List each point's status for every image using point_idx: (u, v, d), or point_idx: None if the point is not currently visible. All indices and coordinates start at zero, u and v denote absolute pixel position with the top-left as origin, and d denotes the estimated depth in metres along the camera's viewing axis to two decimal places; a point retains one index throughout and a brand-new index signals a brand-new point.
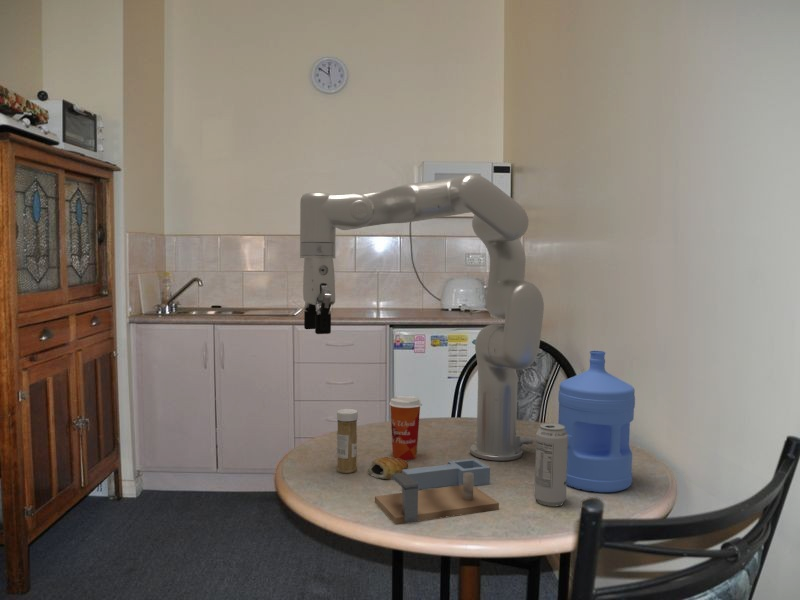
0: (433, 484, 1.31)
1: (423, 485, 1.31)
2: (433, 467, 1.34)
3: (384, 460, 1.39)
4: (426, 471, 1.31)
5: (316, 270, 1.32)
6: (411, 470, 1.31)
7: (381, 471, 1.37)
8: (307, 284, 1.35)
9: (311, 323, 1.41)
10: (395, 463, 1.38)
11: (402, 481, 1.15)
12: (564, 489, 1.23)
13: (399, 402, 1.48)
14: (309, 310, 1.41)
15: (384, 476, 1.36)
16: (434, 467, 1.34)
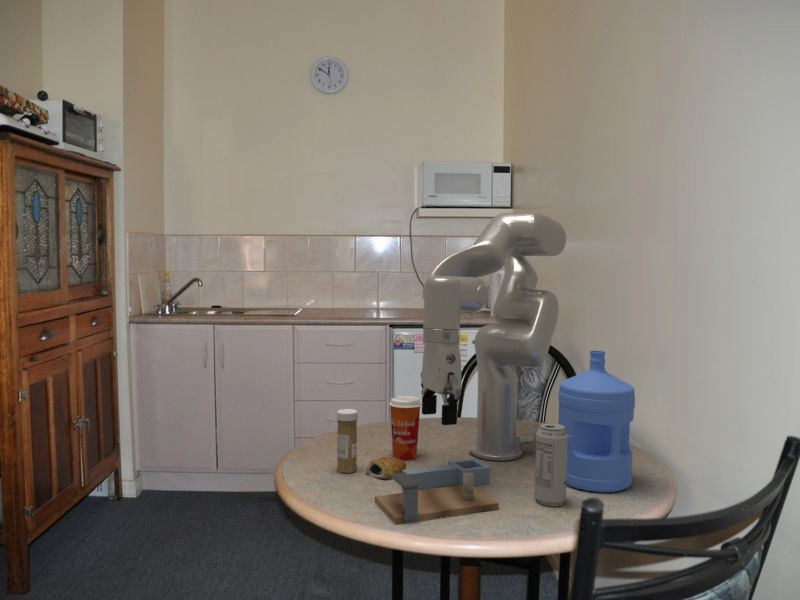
0: (433, 484, 1.31)
1: (423, 485, 1.31)
2: (433, 467, 1.34)
3: (383, 459, 1.39)
4: (426, 471, 1.31)
5: (444, 359, 1.27)
6: (411, 470, 1.31)
7: (379, 471, 1.37)
8: (431, 372, 1.30)
9: (429, 408, 1.36)
10: (393, 463, 1.38)
11: (402, 481, 1.15)
12: (564, 489, 1.23)
13: (399, 402, 1.48)
14: (427, 395, 1.36)
15: (382, 476, 1.36)
16: (434, 467, 1.34)
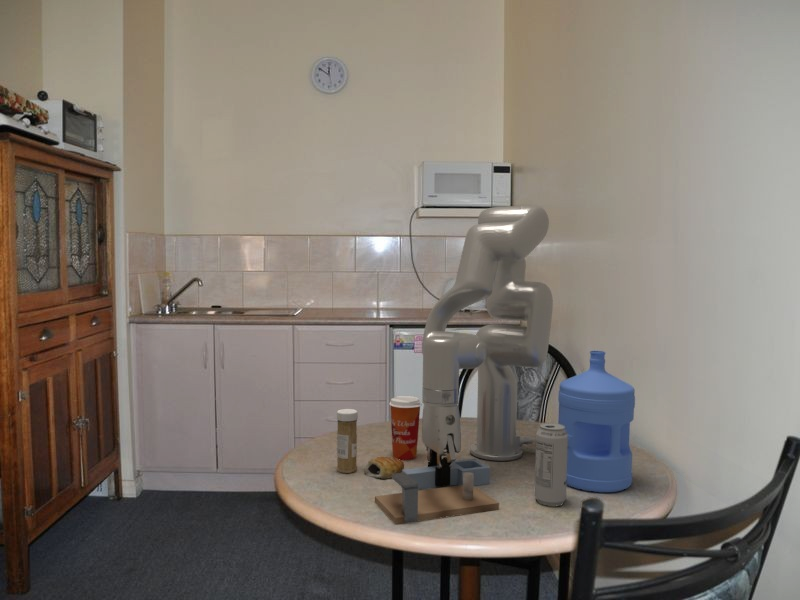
0: (433, 484, 1.31)
1: (423, 485, 1.31)
2: (433, 467, 1.34)
3: (381, 459, 1.39)
4: (426, 471, 1.31)
5: (443, 420, 1.28)
6: (411, 470, 1.31)
7: (378, 471, 1.37)
8: (431, 431, 1.31)
9: None
10: (391, 462, 1.39)
11: (402, 481, 1.15)
12: (564, 489, 1.23)
13: (399, 402, 1.48)
14: (433, 461, 1.35)
15: (381, 475, 1.36)
16: (434, 467, 1.34)
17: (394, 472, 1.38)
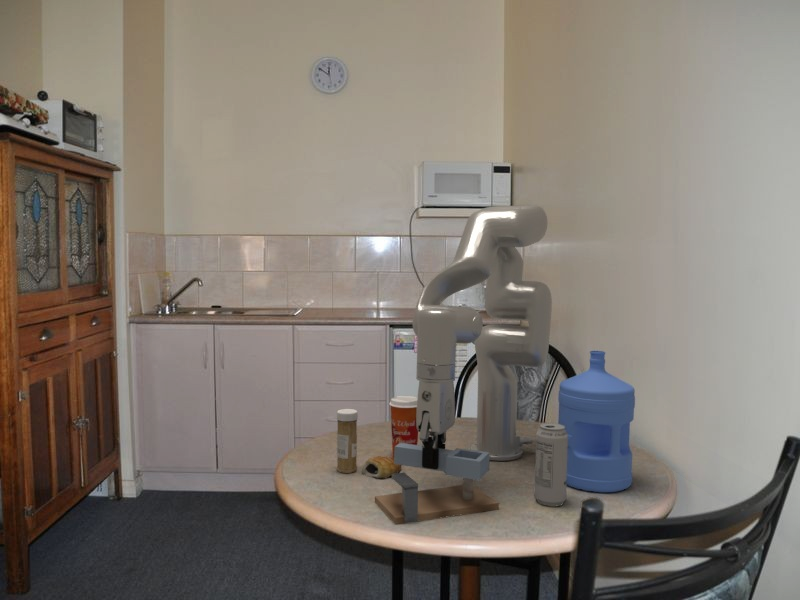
0: (421, 464, 1.24)
1: (410, 462, 1.25)
2: None
3: (378, 459, 1.39)
4: (415, 449, 1.25)
5: (419, 395, 1.20)
6: (405, 445, 1.27)
7: (375, 470, 1.38)
8: None
9: None
10: (389, 462, 1.39)
11: (402, 481, 1.15)
12: (564, 489, 1.23)
13: (399, 402, 1.48)
14: None
15: (379, 475, 1.36)
16: None
17: (392, 472, 1.38)
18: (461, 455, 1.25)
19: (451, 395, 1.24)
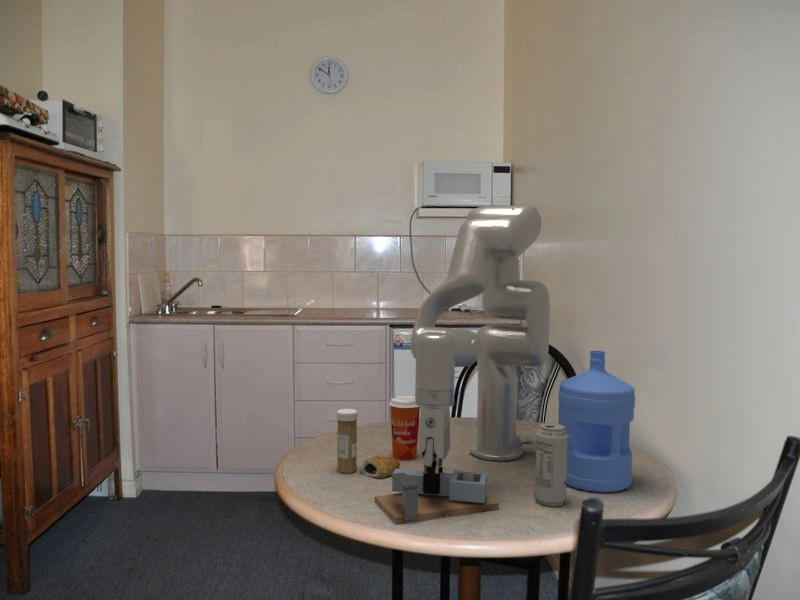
0: (421, 490, 1.23)
1: None
2: None
3: (377, 459, 1.39)
4: (414, 474, 1.24)
5: (423, 422, 1.19)
6: (402, 471, 1.26)
7: (374, 470, 1.38)
8: None
9: None
10: (388, 462, 1.39)
11: (402, 481, 1.15)
12: (564, 489, 1.23)
13: (399, 402, 1.48)
14: None
15: (378, 475, 1.36)
16: None
17: (390, 471, 1.38)
18: (459, 477, 1.25)
19: (449, 418, 1.24)
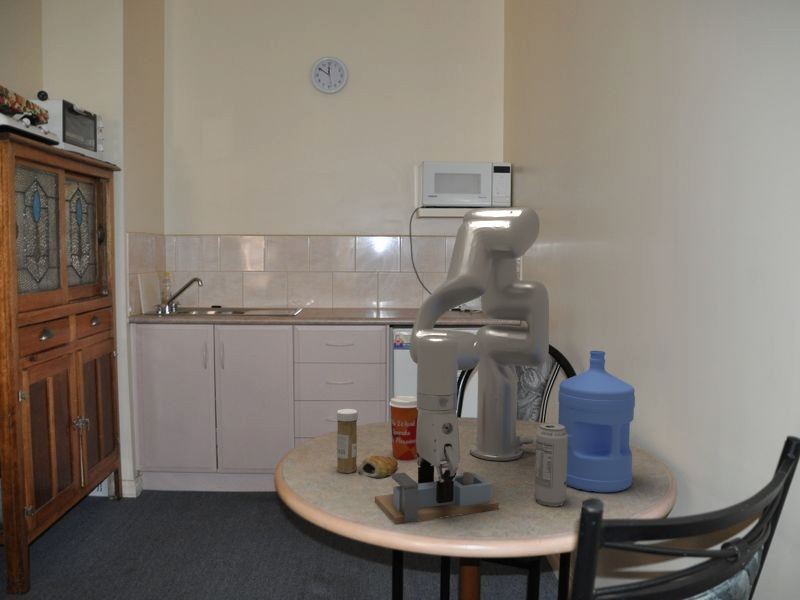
0: (428, 503, 1.18)
1: None
2: (428, 484, 1.20)
3: (375, 458, 1.40)
4: (420, 488, 1.17)
5: (440, 429, 1.14)
6: None
7: (372, 470, 1.38)
8: (426, 441, 1.17)
9: (426, 481, 1.23)
10: (386, 461, 1.39)
11: (402, 481, 1.15)
12: (564, 489, 1.23)
13: (399, 402, 1.48)
14: (424, 466, 1.23)
15: (376, 475, 1.36)
16: (429, 483, 1.20)
17: (389, 471, 1.38)
18: None
19: None
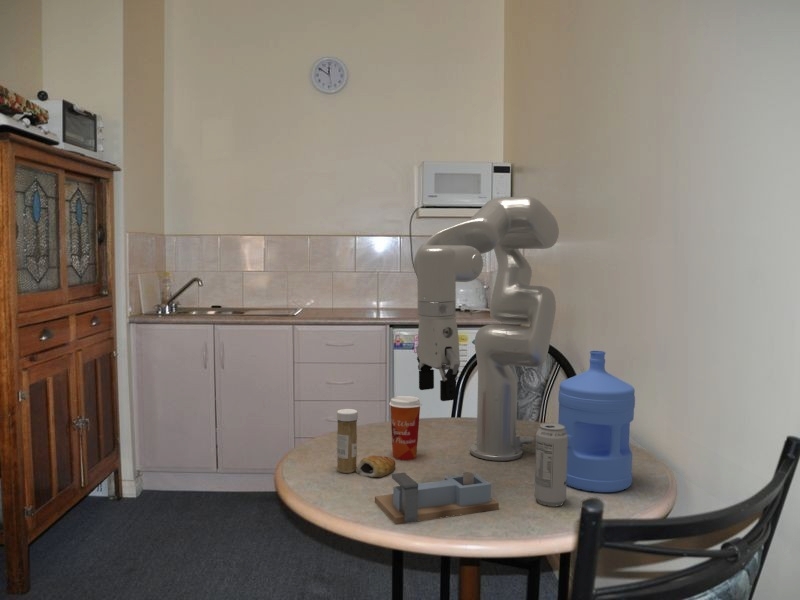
0: (428, 503, 1.18)
1: None
2: (428, 484, 1.20)
3: (373, 458, 1.40)
4: (420, 488, 1.17)
5: (440, 333, 1.22)
6: None
7: (371, 470, 1.38)
8: (428, 346, 1.25)
9: (426, 383, 1.32)
10: (384, 461, 1.39)
11: (402, 481, 1.15)
12: (564, 489, 1.23)
13: (399, 402, 1.48)
14: (424, 370, 1.31)
15: (374, 474, 1.36)
16: (429, 483, 1.20)
17: (387, 471, 1.38)
18: None
19: None
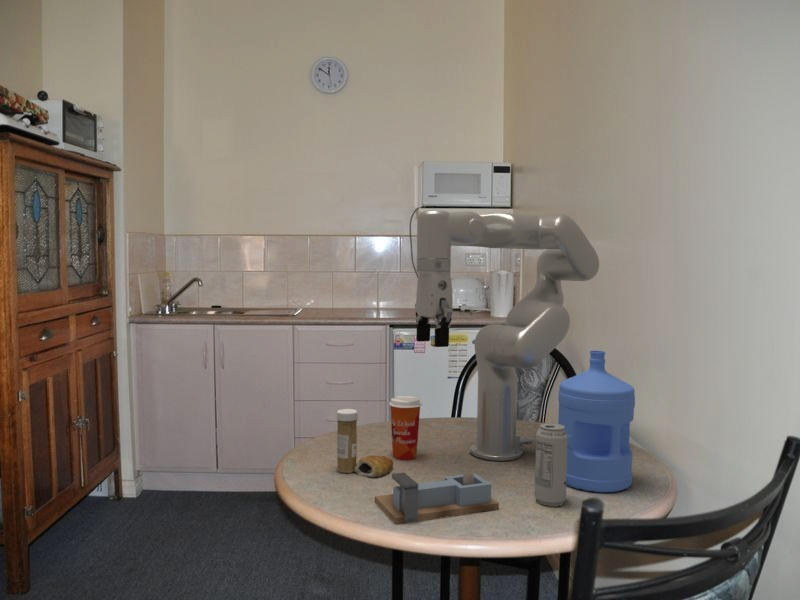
0: (428, 503, 1.18)
1: None
2: (428, 484, 1.20)
3: (371, 458, 1.40)
4: (420, 488, 1.17)
5: (436, 285, 1.37)
6: None
7: (369, 469, 1.38)
8: (424, 299, 1.40)
9: (423, 335, 1.46)
10: (382, 461, 1.39)
11: (402, 481, 1.15)
12: (564, 489, 1.23)
13: (399, 402, 1.48)
14: (421, 323, 1.46)
15: (373, 474, 1.37)
16: (429, 483, 1.20)
17: (385, 470, 1.39)
18: None
19: None
